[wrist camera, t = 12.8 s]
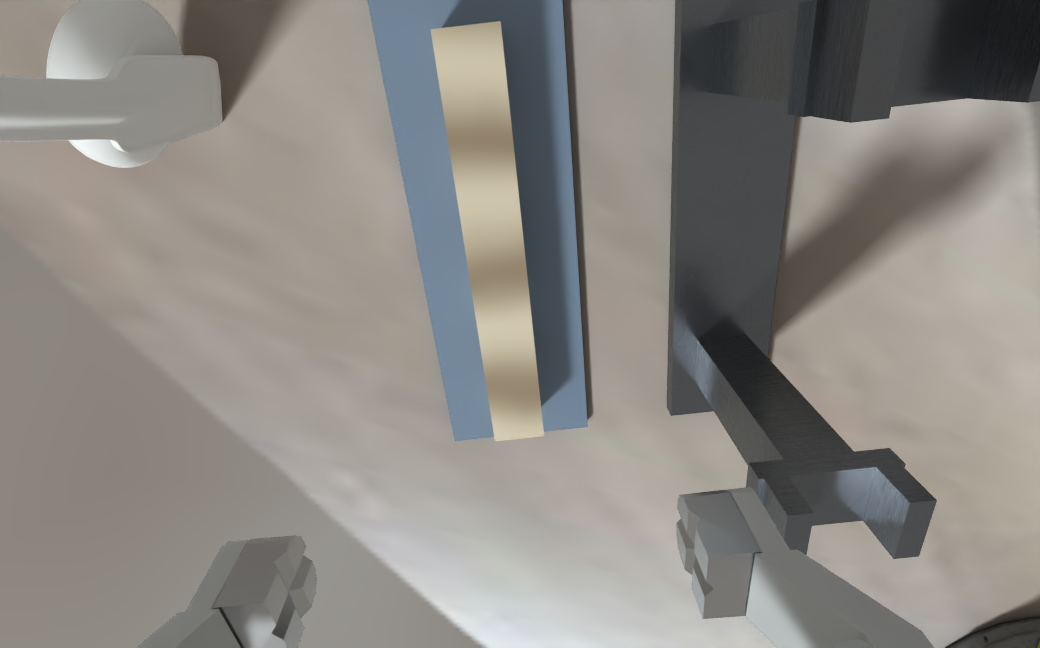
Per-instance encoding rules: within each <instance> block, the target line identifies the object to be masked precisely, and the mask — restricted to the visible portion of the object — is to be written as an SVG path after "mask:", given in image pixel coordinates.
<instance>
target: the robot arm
mask: <svg viewBox="0 0 1040 648" xmlns="http://www.w3.org/2000/svg"><path fill="white" fill-rule="evenodd" d="M677 509H678V511H679V514H680V517H681V519H680V520H679V521H678V522H677V542H678V549H679V553H680V556H681V560H682V563H683V566H684V568H685V570H686V571H688V572H689V573H690V574H691V575H693V576H692V591H693V593H694V596H695V599H696V601H697V604H698V607H699V609H700V612H701V615H702V618H703V619H708V618H722V617H736V616H746V619H747V620H748V621H749V622H750V623H751V624H752V625H753V626H754V627H755V628H756V629H757V630H758V631H760V632H761V633H762V634H763V635H764V636H765V637H766V638H767V639H768V640H769V641H770V642H771V643H772V644H773V645H774V646H775V647H776V648H934V647H933V646H932V644H931V643H930V642H929V640H928V639H927V638H926V636H925V635H924V633H923V632H922V631H921V630H919V629H918V628H916V627H915V626H913V625H912V624H910V623H909V622H907V621H906V620H904V619H902V618H901V617H899V616H898V615H896V614H895V613H893V612H892V611H890V610H889V609H887V608H886V607H884V606H883V605H881V604H880V603H878V602H877V601H875V600H874V599H872V598H870V597H869V596H867V595H866V594H864V593H863V592H861V591H860V590H858V589H857V588H855V587H854V586H852V585H851V584H849V583H848V582H846V581H845V580H843V579H842V578H840V577H839V576H837V575H835V574H834V573H832V572H831V571H829V570H828V569H826V568H825V567H823V566H822V565H820V564H819V563H817V562H816V561H814V560H813V559H811V558H810V557H808V556H807V555H805V554H804V553H802V552H800V551H799V550H790V549H789V547H788V546H787V544H786V542H785V541H784V539H783V537H782V536H781V534H780V532H779V531H778V529H777V527H776V526H775V524H774V522H773V521H772V519H771V517H770V515H769V514H768V512H767V510H766V509H765V507H764V505H763V504H762V502H761V500H760V499H759V497H758V495H757V494H756V492H755V490H753V489H752V488H751V487H747V488H738V489H729V490H719V491H710V492H701V493H693V494H684V495H679V498H678V505H677ZM305 549H306V545H305V543H304V541H303V539H302V537H301V536H284V537H271V538H258V539H250V540H238V541H229V542H227V543H226V544H225V545H224V546H222V547H221V549H220V551H219V552H218V554H217V556H216V558H215V560H214V561H213V563H212V565H211V567H210V568H209V570H208V572H207V574H206V576H205V577H204V579H203V581H202V583H201V584H200V586H199V588H198V590H197V592H196V593H195V595H194V597H193V599H192V600H191V602H190V604H189V606H188V608H187V609H186V611H185V612H181V613H177V614H176V615H175V616H174V617H172V618H171V619H170V620H169V621H167V622H166V623H165V624H164V625H163V626H161V627H160V628H159V629H158V630H157V631H155V632H154V633H153V634H152V635H150V636H149V637H148V638H147V639H146V640H144V641H143V642H142V643H141V644H140V645H138V646H137V647H136V648H298V646H299V642H300V639H301V637H302V634H303V631H304V626H303V623H302V621H301V618H302V616H303V615H304V614H305V613H306V612H307V611H308V610H309V609H310V608H311V607H312V603H313V601H314V597H315V594H316V584H317V577H316V570H315V567H314V564H313V562H312V561H311V560H310V559H308V558H307V557H305V556H304V555H303V554H304V551H305Z"/></svg>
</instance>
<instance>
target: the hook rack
mask: <svg viewBox="0 0 1040 648" xmlns="http://www.w3.org/2000/svg"><path fill="white" fill-rule="evenodd" d="M965 98H970V99H985V100H999V101H1014V102H1036V101H1040V0H811V1H809V0H676V2H675V48H674V95H673V142H672V189H671V236H670V283H669V329H668V376H667V408H668V410H669V412H670V414H671V416H672V415H682V414H691V413H701V412H710V411H714V412H715V413H716V415H717V417H718V418H719V420H720V421H721V423H722V425H723V426H724V428H725V430H726V431H727V433H728V434H729V436H730V438H731V439H732V441H733V442H734V444H735V446H736V447H737V449H738V450H739V452H740V454H741V455H742V457H743V458H744V460H745V462H746V463H747V465H748V474H747V483H746V488H747V487H751V488H752V489H753V490H755V492H756V494H757V495H758V497H759V499H760V500H761V502H762V504H763V505H764V507H765V509H766V510H767V512H768V514H769V515H770V517H771V519H772V521H773V522H774V524H775V526H776V527H777V529H778V531H779V532H780V534H781V536H782V537H783V539H784V541H785V542H786V544H787V546H788V547H789V549H790V550H799V551H800V552H802V553H804V554H805V555H806V554H807V548H808V543H809V538H810V532H811V527H812V526H814V525H824V524H833V523H843V522H853V521H862V520H863V521H864V522H865V524H866V525H867V526H868V527H869V529H870V530H871V531H872V532H873V534H874V535H875V536H876V537H877V539H878V540H879V541H880V542H881V544H882V545H883V546H884V547H885V549H886V550H887V551H888V552H889V554H890V555H891V556H892V557H893V559H897V558H907V557H917V556H919V554H920V551H921V548H922V545H923V542H924V539H925V536H926V532H927V529H928V526H929V523H930V520H931V517H932V514H933V511H934V508H935V505H936V501H937V500H936V499H935V498H934V497H933V496H932V495H931V494H930V493H929V492H928V491H927V490H926V489H925V488H924V487H923V486H922V485H921V484H920V483H919V482H918V481H917V480H916V479H915V478H914V477H913V476H912V475H911V474H910V473H909V472H908V471H907V470H906V469H905V463H904V462H903V461H902V460H901V459H900V458H899V457H898V456H897V455H896V454H895V453H894V452H893V451H892V450H891V449H890V448H886V449H876V450H866V451H857V452H854V451H853V450H852V449H851V448H850V447H849V446H848V445H847V444H846V442H845V441H844V440H843V439H842V438H841V437H840V436H839V435H838V434H837V433H836V432H835V430H834V429H833V428H832V427H831V426H830V425H829V424H828V423H827V422H826V421H825V420H824V419H823V417H822V416H821V415H820V414H819V413H818V412H817V411H816V410H815V409H814V408H813V407H812V405H811V404H810V403H809V402H808V401H807V400H806V399H805V398H804V397H803V396H802V395H801V394H800V392H799V391H798V390H797V389H796V388H795V387H794V386H793V385H792V384H791V383H790V382H789V381H788V379H787V378H786V377H785V376H784V375H783V374H782V373H781V372H780V371H779V370H778V369H777V367H776V366H775V365H774V364H773V363H772V362H771V361H770V360H769V359H768V351H769V342H770V334H771V325H772V317H773V308H774V300H775V291H776V282H777V274H778V265H779V257H780V248H781V240H782V231H783V222H784V214H785V205H786V197H787V188H788V180H789V171H790V162H791V154H792V145H793V137H794V128H795V120H796V116H801V117H807V116H813V117H819V118H825V119H831V120H838V121H844V122H850V123H851V122H860V121H869V120H878V119H886V118H889V115H890V110H891V107H895V106H903V105H912V104H921V103H930V102H939V101H947V100H956V99H965Z"/></svg>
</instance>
